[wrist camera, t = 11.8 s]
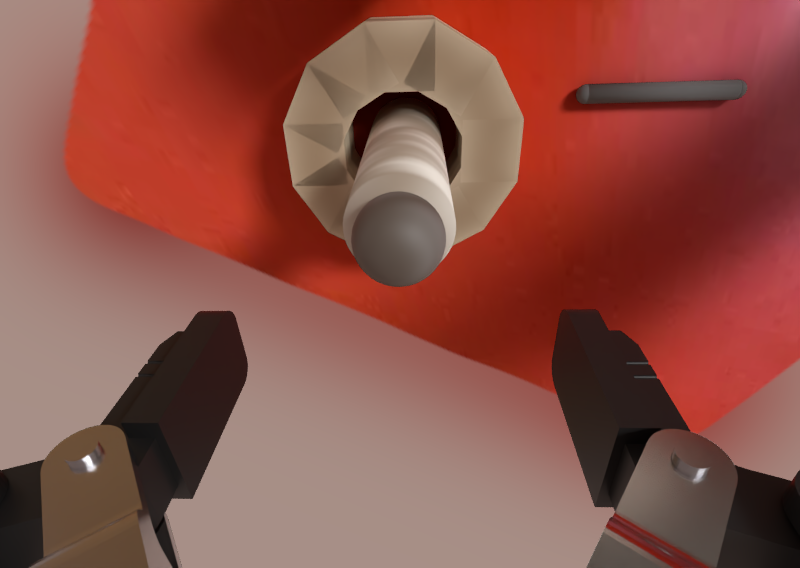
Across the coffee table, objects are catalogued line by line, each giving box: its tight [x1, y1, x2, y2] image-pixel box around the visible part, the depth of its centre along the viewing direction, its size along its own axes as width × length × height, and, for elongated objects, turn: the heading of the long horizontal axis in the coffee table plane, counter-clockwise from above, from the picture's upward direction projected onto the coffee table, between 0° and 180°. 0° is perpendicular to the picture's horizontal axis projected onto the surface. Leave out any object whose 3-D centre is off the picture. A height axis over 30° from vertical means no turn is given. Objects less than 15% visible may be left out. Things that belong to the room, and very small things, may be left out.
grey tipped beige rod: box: [343, 98, 456, 287], centre depth 21 cm, size 4×4×15 cm
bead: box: [283, 15, 524, 246], centre depth 26 cm, size 12×12×4 cm
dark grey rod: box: [576, 80, 747, 104], centre depth 25 cm, size 9×1×1 cm, turn 92°
